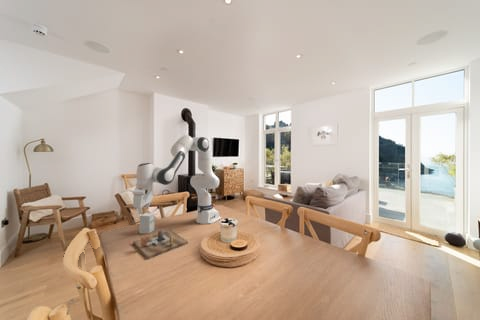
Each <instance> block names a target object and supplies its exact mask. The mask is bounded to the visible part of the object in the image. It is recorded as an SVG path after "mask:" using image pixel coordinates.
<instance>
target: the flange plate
mask: <svg viewBox="0 0 480 320" xmlns="http://www.w3.org/2000/svg"><path fill="white" fill-rule="evenodd" d="M147 237H148V236H147V235H145V234H144V235H142V236H141V235H140V239H141V246H146V247H147V246H150V245H153V244H155V245H156V246H158V245H161V244H163V243H166V242H169V241H170V238H168V237H167V236H165V235H163V239H164V240H162V241H159V242H158V241H157V240H158V237H156V238H153V239H150V241H151V242H148V243H147Z"/></svg>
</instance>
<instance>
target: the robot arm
mask: <svg viewBox="0 0 480 320" xmlns="http://www.w3.org/2000/svg"><path fill="white" fill-rule="evenodd" d="M189 151H191V152H192V151H194V152H197V168H198V170H200V172H202V174H196V175H192V176H191V177H190V179H189V180H190V181H189V182H190V185H191V187H192V188H193V189H194V190H195V192H196V194H197V205H196V206H197V210H196V211H197V215H196V219H195V222H196V223H197V224H201V225H202V224H203V225H204V224H205V225H206V224H208V225H211V224H214V223H216V222H217V221H220V220H222V219H221V218H222V216H220V213H219V211H218V210H217V209H216V208H215V206H216V204H214V203H212V195H211V193H210V192H208V191H207V189H217V188H218V187H219V186H220V178H219V177H218V176H217V175H216V174H215V173H214V171H213V168H212V167H213V166H212V152H211V148H210V142H209V140H208V138H207V137H203V136H195V137H192V136H190V135H188V134H184V135H182V136H181V137H180V138H178V139H177V140H176V141H175V142H174V144H173V145H172V146H171V148H170V154H171V155H172V157H173V158H172V160H171V161H170V163H169V164H168V166H166V167H164V168H161V167H157V166H155V165H153V164H152V163H151V162H145V163H140V164H138V166H137V168H136V173H135V174H136V177H135V179H136V184H135V188H134V189H133V190H132V195H133V198H132V199H133V201H132V203H133V204H132V205H133V208H134V209H137V211H138V215H142V214H144V210H143V207H144V206H145V207H144V209H145V210H146V211H148V210H149V209H150V204H151V202H152V201H153V199H154V194H153V193H154V191H153V183H156V184H160V185H165V186H167V185H170V184H172V182H173V181H174V180H175V177H176V173H177V172H178V170H179V168H180V167H181V165H182V163H183V162H184V161H185V159H186V156H187V154H188V153H189ZM219 219H220V220H219Z"/></svg>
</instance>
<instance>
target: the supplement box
mask: <svg viewBox="0 0 480 320" xmlns="http://www.w3.org/2000/svg"><path fill="white" fill-rule="evenodd" d="M138 229H139V230H138V231H139V233H138V234H144V235H145V234H147V235H149V234H150V233H152V232H153V231H154V230H155V213H153V212H143V213H142V214H140V215H139V228H138Z"/></svg>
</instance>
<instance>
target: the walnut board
mask: <svg viewBox="0 0 480 320" xmlns="http://www.w3.org/2000/svg"><path fill="white" fill-rule="evenodd" d="M163 235H165V236H167V237H168V238H170V241H169V242H166V243H163V244H161V245H158V246H156V245H155V244H153V245H150V246H147V247H146V246H141V238H140V239H136V240H134V241H132V244H133V245H134V247H135V248H136V249H137V250H138V251H139V252H140V253H141V254H142V255H143V256H144V257H145V258H146V259H147V260H150V259H153V258H155V257H158V256H160V255H162V254H165V253H168V252H170V251H172V250H175V249H177V248H180V247H183V246H185V245H188V244H189V241H188V240H187V239H185V238H184V237H182V236H180V235H178V234H177V233H175V232H174V231H172V230H169V229H168V230H167V231H163V230H159V231H158V232H157V234H153V235H149V236H146V237H147V243H148V242H151V241H150V239H153V238H156V237H158V240H157V241H158V242H159V241H162V240H164V239H163Z"/></svg>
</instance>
